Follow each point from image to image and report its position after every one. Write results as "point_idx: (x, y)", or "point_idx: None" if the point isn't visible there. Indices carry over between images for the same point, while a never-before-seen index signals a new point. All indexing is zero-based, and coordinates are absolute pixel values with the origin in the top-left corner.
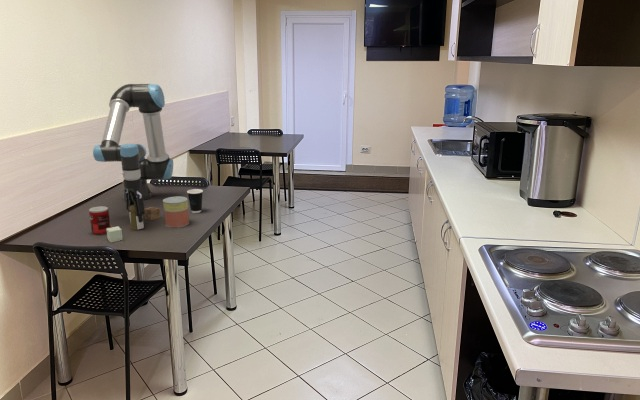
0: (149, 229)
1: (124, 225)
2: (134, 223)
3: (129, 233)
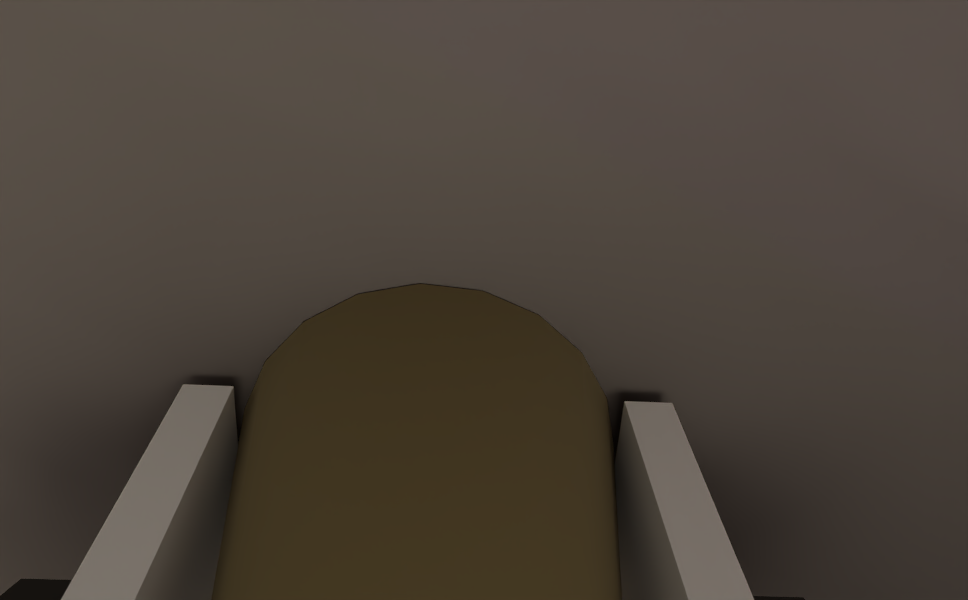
0: (62, 569)
1: (900, 320)
2: (275, 458)
3: (66, 50)
